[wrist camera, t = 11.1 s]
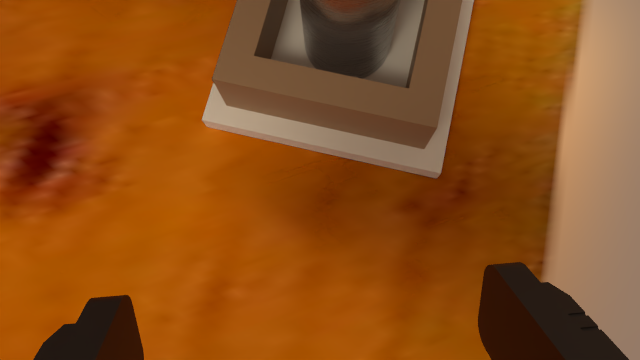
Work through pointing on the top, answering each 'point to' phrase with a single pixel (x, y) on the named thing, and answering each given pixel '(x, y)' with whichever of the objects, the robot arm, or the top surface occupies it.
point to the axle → (348, 34)
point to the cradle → (343, 86)
